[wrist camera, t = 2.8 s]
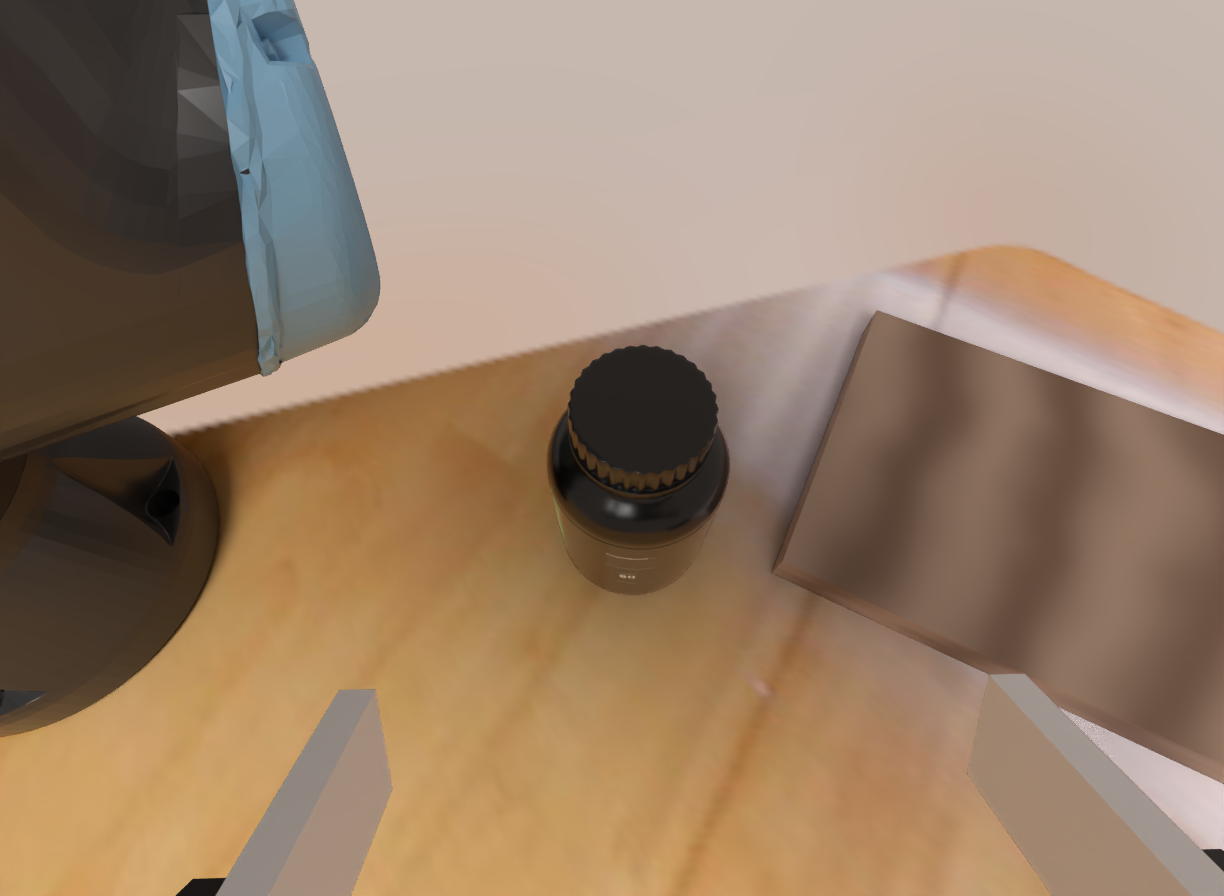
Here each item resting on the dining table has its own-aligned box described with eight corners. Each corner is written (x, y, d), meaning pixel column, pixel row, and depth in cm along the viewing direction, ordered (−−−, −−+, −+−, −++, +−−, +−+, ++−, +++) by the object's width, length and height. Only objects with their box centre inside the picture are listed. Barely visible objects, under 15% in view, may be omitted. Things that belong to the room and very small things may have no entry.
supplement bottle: (541, 571, 28) (499, 467, 17) (589, 450, 31) (578, 298, 20) (679, 617, 27) (723, 538, 17) (714, 488, 30) (772, 349, 19)
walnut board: (771, 573, 28) (782, 561, 26) (863, 332, 35) (876, 310, 33) (1230, 787, 24) (1280, 791, 22) (1238, 470, 31) (1277, 454, 29)
